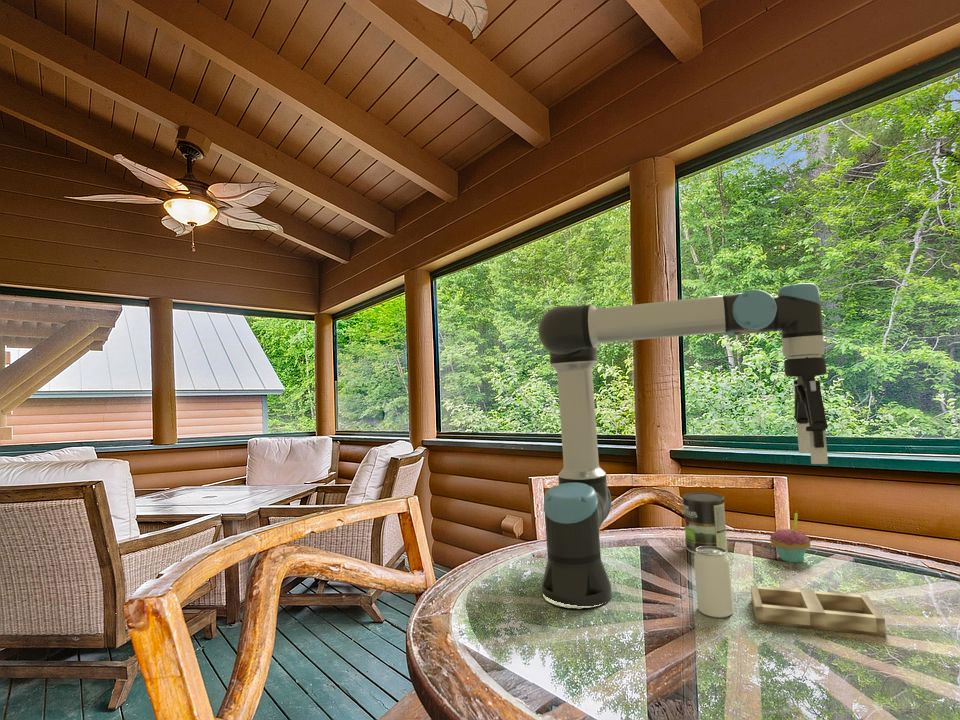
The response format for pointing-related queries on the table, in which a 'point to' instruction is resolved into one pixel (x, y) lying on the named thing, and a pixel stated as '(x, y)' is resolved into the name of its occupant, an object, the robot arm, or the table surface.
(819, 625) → the tan two-compartment tray
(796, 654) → the table surface
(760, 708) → the table surface
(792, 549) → the cupcake
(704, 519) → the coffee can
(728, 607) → the can
